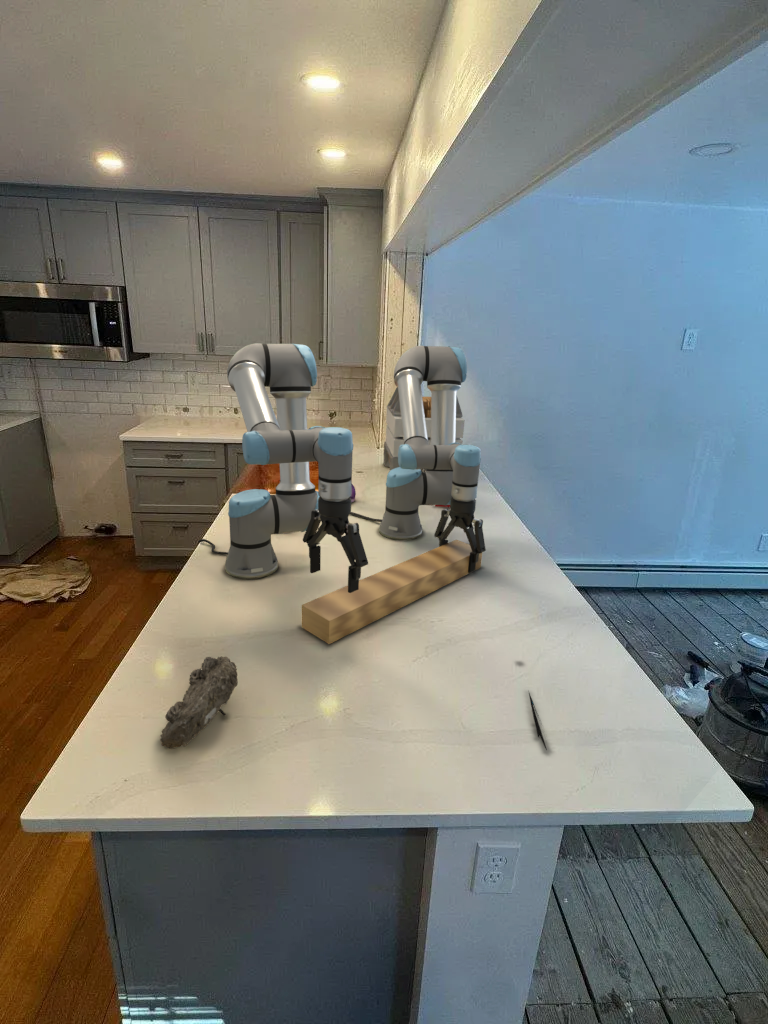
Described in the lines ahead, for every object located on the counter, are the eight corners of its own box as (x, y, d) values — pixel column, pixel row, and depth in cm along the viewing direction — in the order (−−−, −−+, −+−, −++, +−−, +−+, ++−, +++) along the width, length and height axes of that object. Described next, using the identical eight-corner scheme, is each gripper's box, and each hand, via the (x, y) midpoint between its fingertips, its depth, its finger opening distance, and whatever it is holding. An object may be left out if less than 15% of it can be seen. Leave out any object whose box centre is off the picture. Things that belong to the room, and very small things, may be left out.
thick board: (454, 557, 183) (456, 539, 181) (480, 567, 177) (482, 549, 174) (301, 627, 139) (301, 604, 137) (329, 644, 133) (329, 621, 131)
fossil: (187, 658, 118) (238, 626, 113) (219, 688, 121) (270, 658, 116) (136, 742, 99) (195, 708, 94) (175, 775, 101) (234, 744, 96)
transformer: (382, 463, 289) (386, 382, 275) (445, 464, 293) (451, 384, 279) (390, 482, 257) (394, 392, 243) (460, 483, 261) (468, 394, 247)
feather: (520, 667, 129) (525, 661, 129) (546, 754, 103) (553, 747, 102) (514, 663, 129) (519, 657, 129) (538, 750, 103) (545, 742, 102)
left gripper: (287, 487, 134) (288, 568, 141) (361, 515, 118) (358, 605, 125) (312, 481, 139) (312, 559, 146) (386, 507, 123) (382, 594, 131)
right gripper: (425, 491, 173) (421, 557, 180) (488, 510, 158) (480, 581, 166) (440, 486, 178) (435, 551, 185) (503, 504, 163) (494, 574, 171)
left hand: (333, 580), depth 136 cm, fingers open, 13 cm apart
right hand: (457, 565), depth 176 cm, fingers closed on thick board, 10 cm apart
